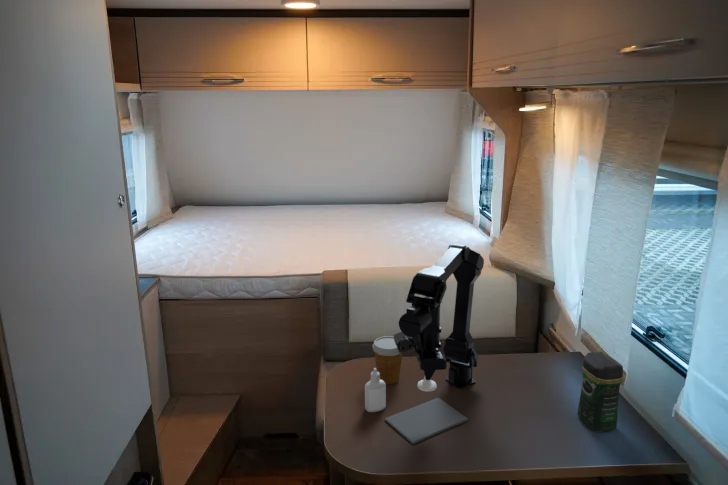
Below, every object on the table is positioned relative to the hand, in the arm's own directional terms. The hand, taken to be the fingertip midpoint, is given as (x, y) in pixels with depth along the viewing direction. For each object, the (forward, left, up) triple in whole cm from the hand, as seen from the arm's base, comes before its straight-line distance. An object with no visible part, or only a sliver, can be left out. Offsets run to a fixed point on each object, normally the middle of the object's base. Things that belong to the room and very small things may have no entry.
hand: (427, 377), depth 139 cm
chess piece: (0, 0, -3) cm, 3 cm away
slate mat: (0, 0, -12) cm, 12 cm away
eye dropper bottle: (+8, -12, -13) cm, 19 cm away
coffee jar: (-36, +25, -13) cm, 46 cm away
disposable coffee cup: (-4, -23, -13) cm, 26 cm away
